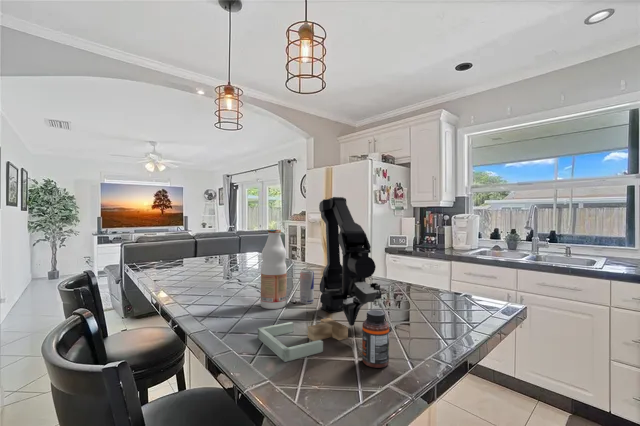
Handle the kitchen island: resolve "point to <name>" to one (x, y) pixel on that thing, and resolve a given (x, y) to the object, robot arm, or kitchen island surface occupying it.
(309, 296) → the energy drink
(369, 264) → the robot arm
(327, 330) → the t block
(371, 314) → the supplement bottle
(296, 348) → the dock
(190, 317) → the kitchen island surface
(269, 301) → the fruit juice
